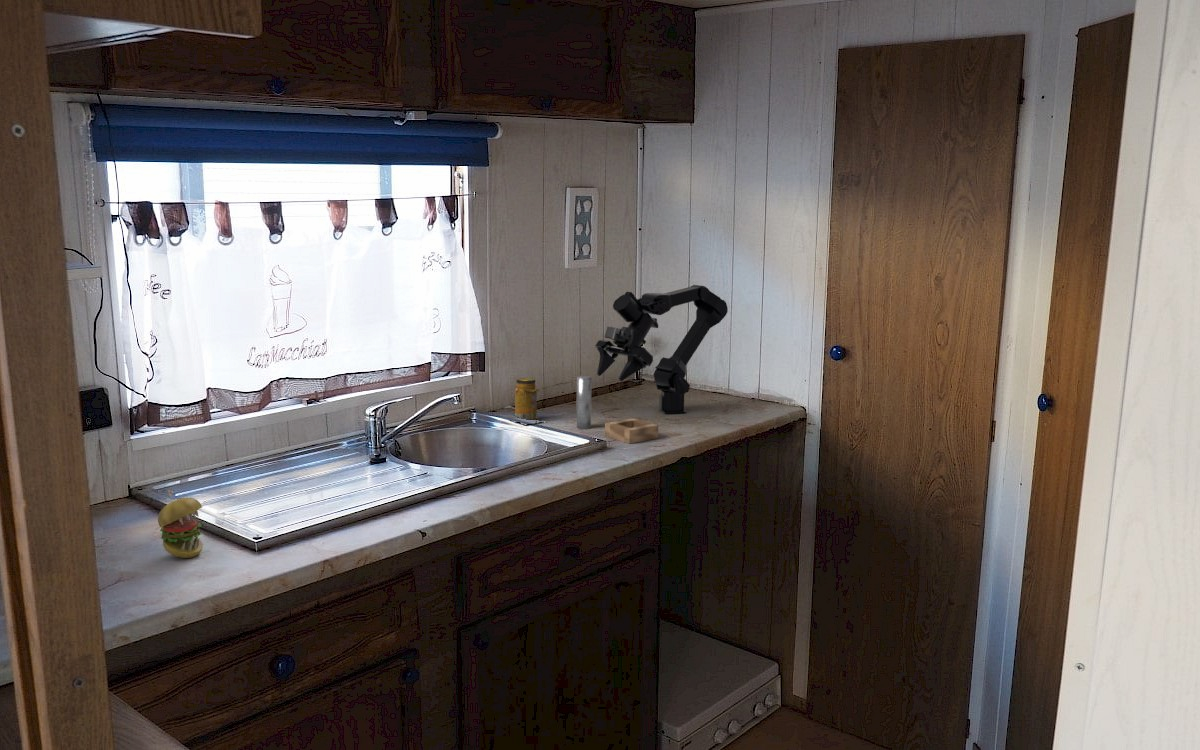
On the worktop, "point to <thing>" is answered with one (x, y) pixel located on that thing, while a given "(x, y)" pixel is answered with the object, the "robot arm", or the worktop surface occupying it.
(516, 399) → the condiment
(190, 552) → the hamburger
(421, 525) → the worktop surface
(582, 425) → the peg
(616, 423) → the socket
